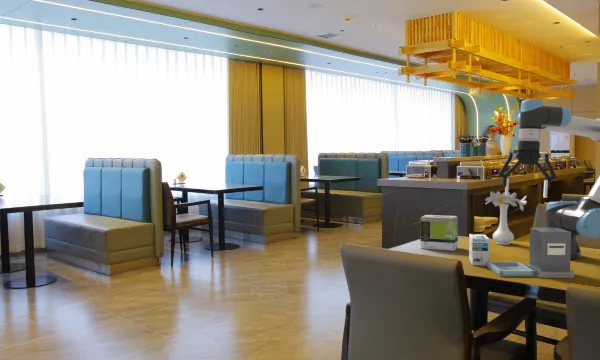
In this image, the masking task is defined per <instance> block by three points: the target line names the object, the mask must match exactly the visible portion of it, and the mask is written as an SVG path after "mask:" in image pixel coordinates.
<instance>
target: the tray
mask: <svg viewBox="0 0 600 360" xmlns="http://www.w3.org/2000/svg"><path fill="white" fill-rule="evenodd" d="M486 268H488V269H489V270H490V271H492V272H493V273H495V274H496V275H497V276H498V277H500V278H501V277H511V278H512V277H514V278H515V277H520V278H521V277H523V278H524V277H527V278H530V277H532V278H533V277H534V278H535V277H536V276H535V271H534V270H532V269H530V268H528V267H527V266H526V264H523V263H522V262H519V261H490V262H487V266H486Z"/></svg>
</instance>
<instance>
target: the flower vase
mask: <svg viewBox="0 0 600 360" xmlns="http://www.w3.org/2000/svg"><path fill="white" fill-rule="evenodd" d="M516 197H517V193H516V192H513V193H511V192H509V191H508V195H505V191H504V192H502V193H501V191H497V192H495V191H494V192H493V191H490V194H489V196H488V197H486V198H485V201H486V202H485V205H488V204H489V203H491V202H492V205H494V207H499V214H500V215H499V224H498V227H497V229H496V230H495V231H494V232H493V233H492V239H493V240H494V241H495V244H497V245H501V246H509V245H510V244H511V242H513V240H514V239H515V238H514V233H513V232H512V231H511V230H510V229H509V226H508V210H509V209H508V208H509V206H510V205H511V206H513V207H518V205H519V209H520V210H521V211H522V212H524V206H525V205H526V204H527V200H526V198H527V195H525V196H523V197H522V199H519V198H516Z"/></svg>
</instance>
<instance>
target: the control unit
mask: <svg viewBox="0 0 600 360" xmlns="http://www.w3.org/2000/svg"><path fill="white" fill-rule="evenodd" d="M529 233H530V234H529V238H530V239H529V264H525V266H527V267H528V268H530V269H532V270H534V271H535V277H538V278H540V279H543V278H544V279H545V278H546V279H563V278H564V279H574V278H575V271H572V270H571V259H570V255H571V232H569V231H566V230H563V229H561V228H546V227H530V230H529Z"/></svg>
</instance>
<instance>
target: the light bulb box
mask: <svg viewBox="0 0 600 360" xmlns="http://www.w3.org/2000/svg"><path fill="white" fill-rule="evenodd" d="M468 238H469V239H468V241H469V243H468V247H469V249H468V259H469V262H470V264H471V266H477V267H478V266H481V267H485V266H486V267H487V262H491V260H490V258H491V257H490V254H491V253H490V248H491V247H490V245H491V239H490V238H489V237H488V236H487V235H486V234H477V233H476V234H474V233H469V237H468Z"/></svg>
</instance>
